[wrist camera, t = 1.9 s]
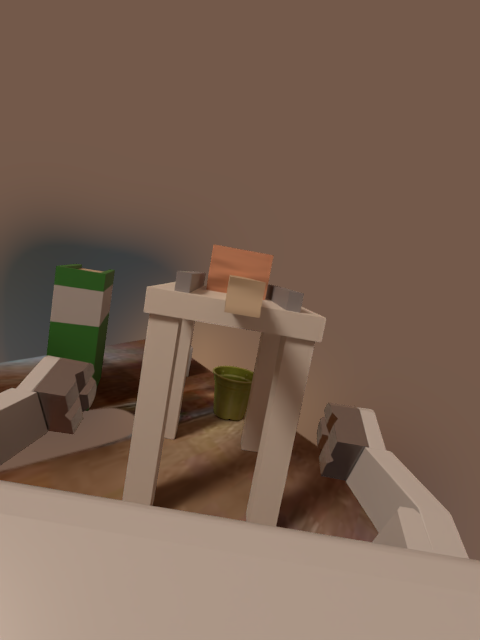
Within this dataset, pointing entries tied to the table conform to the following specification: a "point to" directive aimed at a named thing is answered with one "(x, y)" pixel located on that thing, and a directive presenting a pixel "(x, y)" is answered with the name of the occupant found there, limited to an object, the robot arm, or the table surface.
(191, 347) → the cassette
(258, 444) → the stand
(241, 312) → the mallet
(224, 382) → the plant pot
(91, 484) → the table surface
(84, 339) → the hardback book
